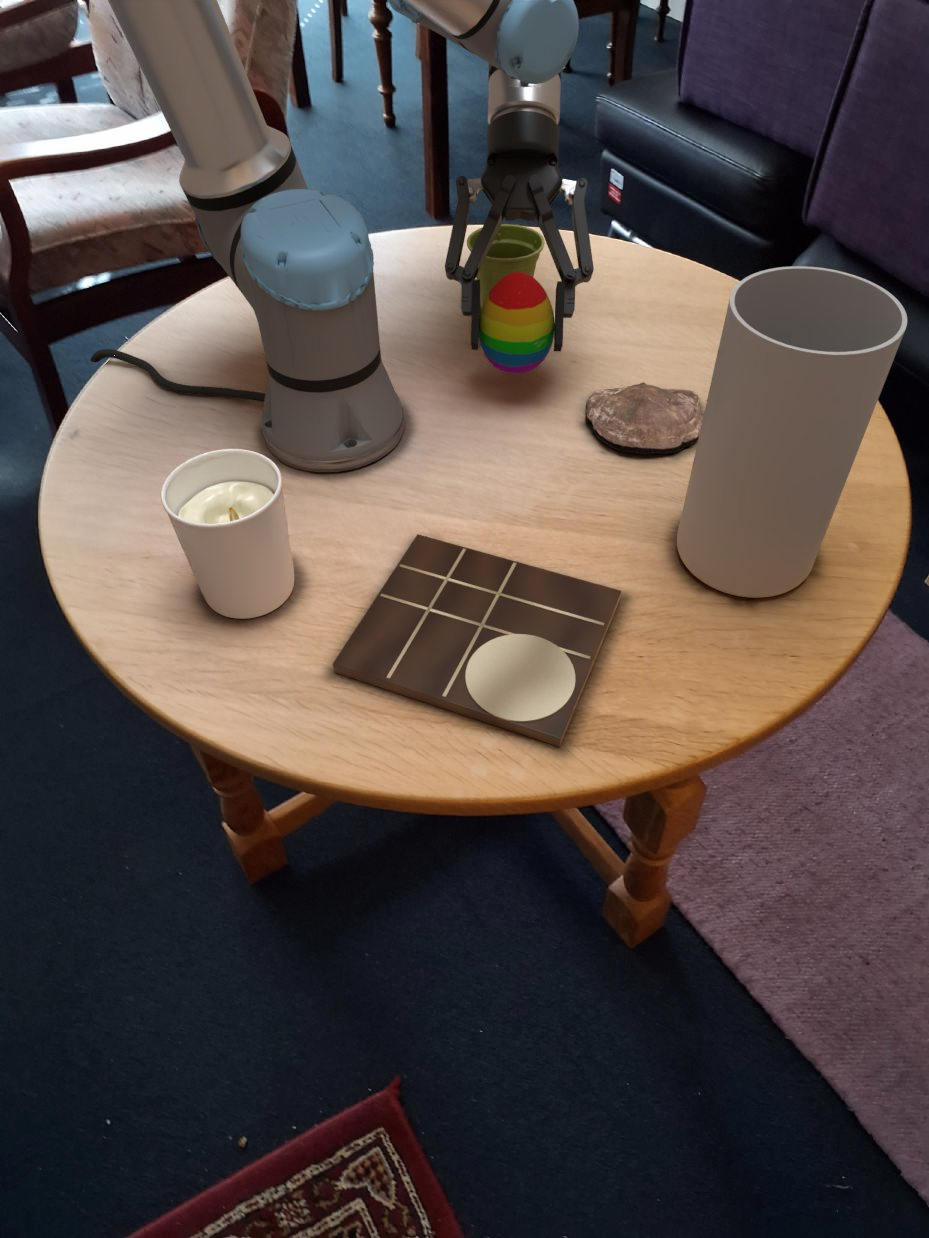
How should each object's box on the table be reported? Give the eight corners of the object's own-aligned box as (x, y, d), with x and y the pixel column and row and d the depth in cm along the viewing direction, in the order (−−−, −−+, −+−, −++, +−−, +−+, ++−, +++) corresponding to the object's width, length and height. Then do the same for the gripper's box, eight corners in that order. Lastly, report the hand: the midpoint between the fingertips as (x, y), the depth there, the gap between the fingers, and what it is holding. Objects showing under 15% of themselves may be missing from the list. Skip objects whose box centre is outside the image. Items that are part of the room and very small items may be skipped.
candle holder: (318, 557, 85) (298, 456, 76) (280, 634, 78) (254, 533, 69) (221, 542, 86) (191, 441, 77) (177, 616, 80) (139, 516, 71)
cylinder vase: (662, 582, 82) (716, 336, 63) (688, 497, 89) (743, 256, 71) (803, 616, 79) (903, 368, 60) (817, 525, 86) (910, 281, 68)
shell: (707, 461, 93) (714, 433, 90) (585, 456, 94) (588, 428, 91) (698, 397, 101) (704, 369, 98) (585, 392, 102) (588, 365, 99)
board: (334, 672, 75) (332, 662, 74) (418, 543, 86) (417, 532, 85) (559, 747, 70) (560, 737, 69) (620, 599, 80) (622, 589, 79)
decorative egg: (559, 377, 97) (566, 291, 89) (484, 384, 96) (486, 297, 89) (543, 337, 102) (549, 252, 95) (472, 344, 101) (473, 259, 94)
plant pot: (472, 287, 118) (472, 221, 112) (543, 291, 117) (547, 225, 111) (462, 324, 112) (461, 257, 106) (537, 328, 111) (541, 261, 105)
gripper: (419, 105, 89) (414, 336, 91) (629, 108, 89) (620, 340, 90) (425, 141, 97) (420, 354, 98) (619, 144, 96) (611, 358, 97)
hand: (516, 347), depth 94 cm, fingers closed on decorative egg, 8 cm apart
